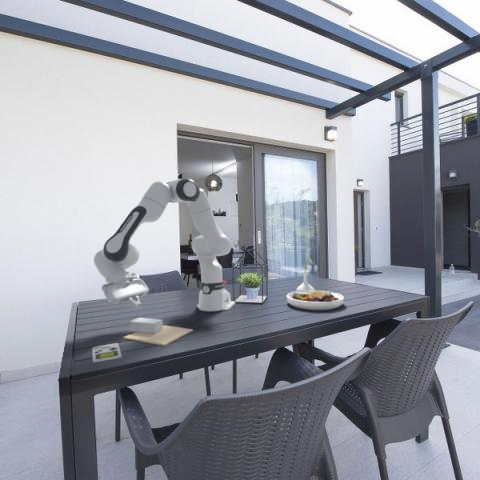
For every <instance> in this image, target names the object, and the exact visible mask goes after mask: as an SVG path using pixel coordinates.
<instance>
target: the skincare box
mask: <svg viewBox="0 0 480 480" xmlns="http://www.w3.org/2000/svg"><path fill="white" fill-rule="evenodd" d="M163 323H164V322H163V319H159V318H158V319H157V318H148V317H147V318H145V317H138V318H135V319H131V320H130V321H129V330H130V332H144V333H153V334H155V333H157V332H159V331H161V330H162V329H163Z"/></svg>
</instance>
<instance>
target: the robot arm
mask: <svg viewBox="0 0 480 480" xmlns="http://www.w3.org/2000/svg"><path fill="white" fill-rule="evenodd" d="M169 203H185V204H187V207H188V209H189V213H190V217H191V220H192V223H193V226H194V228H195V230H197V231H198V232H199V233H200V234H201V235H197V236H196V237H194V238H193V239H192V241H191V249H192V251H193V252H194V253H195V255H196V257H197V259H198V262H199V267H200V274H201V275H200V276H201V277H200V279H201V281H200V284H199V287H200V291H199V293H198V304H197V305H196V307H197V308H198V310H200V311H201V312H219V311H229V310H230V309H231V308H232V307H234V305H236V302H235V301H233V300H232V299H231V297H232V296H231V293H230V292H229V291H228V290H226V288H225V285H227V281H226V280H223V267H222V265H221V264H220V263H219V261H218V259H217V257H221V256H226V255H228V254H229V253H230V252H231V250H232V244H233V243H232V241H231V239H230V238H229V237H228V236H227V235H226V234H224V233H223V231H222V230H221V228H220V227H219V225H218V223H217V221H216V219H215V216H214V215H215V214H214V212H213V209H212V206H211V203H210V200H209V197H208V195H207V194H206V191H205V189H202V188H199V187H198V185H197V183H196V182H195V181H194V180H193V179H191V178H177V179H174V180H171V181H168V182H164V181H161V180H158V181H155V182H153V183H152V184H151V185H150V187H149V188H147V190H146V192H145V193H144V194H143V196H142V198H141V199H140V202H139V203H138V204H137V205H136V206H135V207H134V208H132V209H131V211H130V212H129V214H128V215H127V216H126V217H125V219H124V221H122V223H121V225H120V226H119V228H118V229H117V230H116V232H115V233H113V235H112V236H111V237H109V238H108V239H107V240H106V241H105V242H104V245H103V248H102V249H100V250H99V251H98V252H96V253H95V255H94V258H93V263H94V266H95V267H96V269H97V271H98V273H99V274H100V276H102V277H103V278H104V279H105V282H106V283H105V284H103V285H102V286H101V290H102V291H103V293H104V296H105V298H106V300H107V301H108V303H109V304H110V305H113V306H114V305H117V304H121V303H124V302H126V303H127V304H129V305H131V306H132V307H133V308H134V309H135V308H138V307H139V308H140V306H141V305H142V302H141V301H140V298H142V297H145V296H146V295H147V294H148V293H149V291H150V289H149V287H148V285H147V284H146V283H145V281H144V280H142V278H140V275H139V274H138V273H136V272H129V271H126V269H129V268H130V267H132V266H133V265H135V264H136V263H137V262H138V260H139V258H140V252H139V250H138V249H137V247H135V246H134V245H132V244H131V243H130V242H131V239H132V238H133V236H134V235H135V233H136V231H137V230H138V228H139V227H140V226H141V225H142V224H144V223H154V222H157V221H158V220H159V219H160V218H161V217H162V215H163V214H164V212H165V210H166V208H167V206H168V204H169Z"/></svg>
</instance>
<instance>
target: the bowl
mask: <svg viewBox="0 0 480 480" xmlns="http://www.w3.org/2000/svg"><path fill="white" fill-rule="evenodd" d="M286 300H287V302H288V303H289V305H291V306H292V307H295V308H297V309H301V310H308V311H329V310H334V309H338V308H340V307H341V306H342V305H343V303H344V301H345V300H344V295H342V294H340V293H337V292H333V291H327V290H314V291H313V290H310V291H297V290H296V291H291V292H289V293H287V295H286Z"/></svg>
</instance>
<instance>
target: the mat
mask: <svg viewBox="0 0 480 480" xmlns="http://www.w3.org/2000/svg"><path fill="white" fill-rule="evenodd" d="M193 331H194V329H193V328H185V327H178V326H172V325H171V326H170V325H165V324H164V325H163V329H162V330H161V331H159V332H157V333H155V334H153V333H144V332H135V331H133V332H131V333H130V334H127V335H125V336H123V339H125V340H130V341H135V342H142V343H147V344H153V345H158V346H164V347H165V346H167V345H169V344H171V343H173V342H175V341H176V340H179V339H180V338H182V337H184V336H185V335H188V334H190V333H192V332H193Z"/></svg>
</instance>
